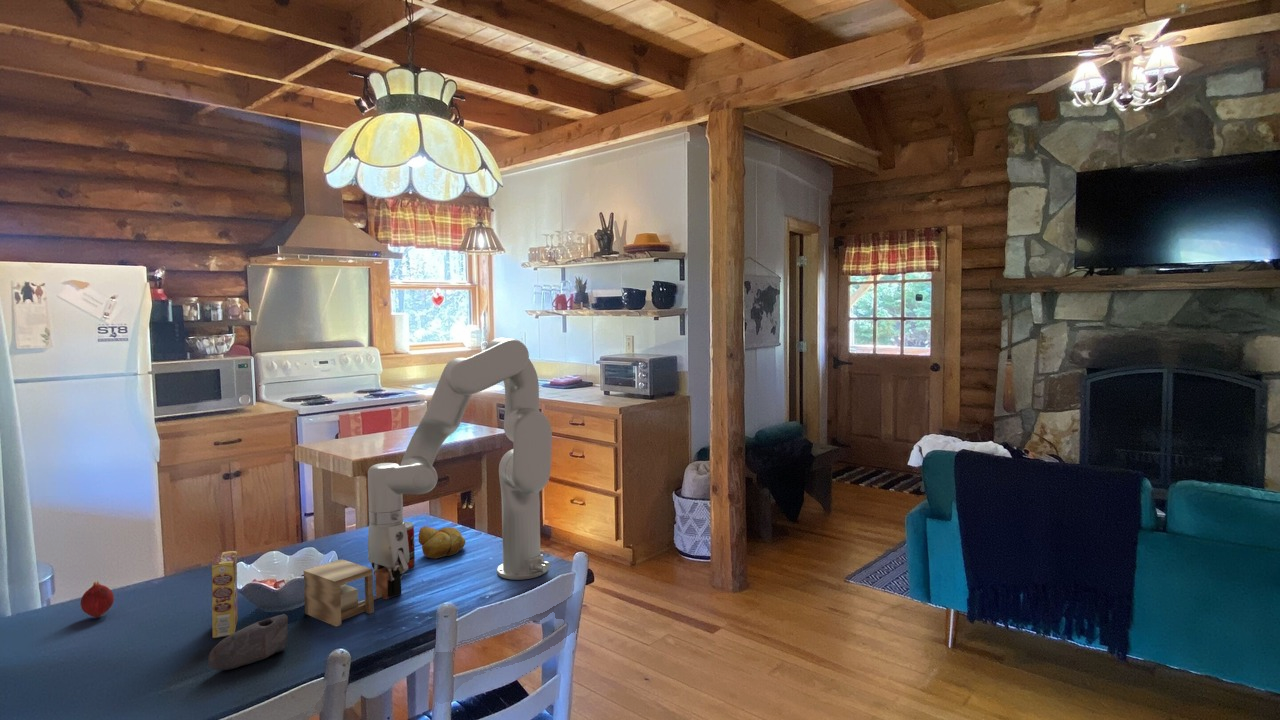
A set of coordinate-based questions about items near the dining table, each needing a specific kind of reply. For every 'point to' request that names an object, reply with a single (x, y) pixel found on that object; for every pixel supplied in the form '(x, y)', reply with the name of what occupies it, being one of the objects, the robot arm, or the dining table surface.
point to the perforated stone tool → (250, 644)
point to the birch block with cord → (351, 594)
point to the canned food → (410, 543)
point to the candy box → (224, 594)
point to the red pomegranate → (97, 600)
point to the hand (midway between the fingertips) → (388, 592)
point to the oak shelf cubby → (335, 590)
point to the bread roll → (440, 541)
